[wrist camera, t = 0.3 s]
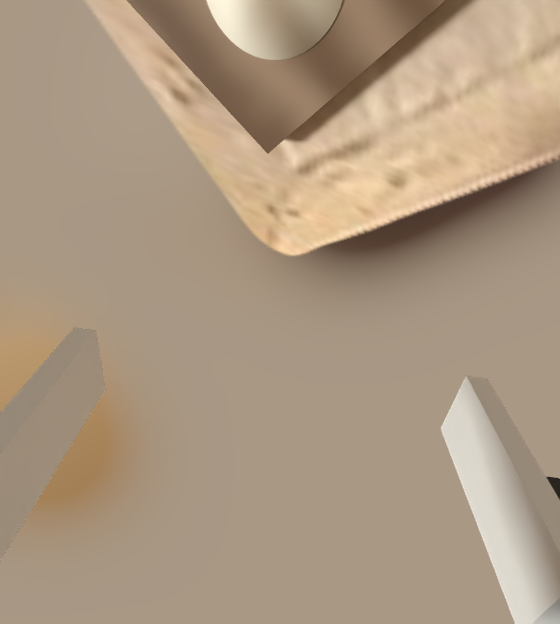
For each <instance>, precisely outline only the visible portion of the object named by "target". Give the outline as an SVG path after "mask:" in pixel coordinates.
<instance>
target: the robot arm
mask: <svg viewBox="0 0 560 624" xmlns="http://www.w3.org/2000/svg"><path fill="white" fill-rule="evenodd" d="M104 390H105V383H104V376H103V370H102V363H101V358H100V351H99V345H98V338H97V332H96V330H90V329H81V328H73V330H72V331H71V332H70V333H69V334H68V335H67V336H66V338H65V339H64V340H63V341H62V342H61V343H60V344H59V346H58V347H57V348H56V349H55V350H54V351H53V353H52V354H51V355H50V356H49V357H48V358H47V360H46V361H45V362H44V363H43V364H42V365H41V366H40V367H39V369H38V370H37V371H36V372H35V373H34V374H33V376H32V377H31V378H30V379H29V380H28V381H27V382H26V384H25V385H24V386H23V387H22V388H21V389H20V391H19V392H18V393H17V394H16V395H15V396H14V397H13V399H12V400H11V401H10V402H9V403H8V404H7V405H6V406H5V408H4V409H3V410H2V411H1V412H0V561H1V559H2V558H3V556H4V555H5V553H6V551H7V550H8V548H9V546H10V544H11V543H12V541H13V540H14V538H15V536H16V534H17V533H18V532H19V530H20V528H21V527H22V525H23V523H24V522H25V520H26V518H27V517H28V515H29V513H30V512H31V510H32V509H33V507H34V505H35V503H36V502H37V500H38V498H39V497H40V495H41V493H42V492H43V491H44V489H45V487H46V485H47V484H48V482H49V481H50V479H51V477H52V476H53V474H54V472H55V471H56V469H57V468H58V466H59V464H60V463H61V461H62V459H63V458H64V456H65V454H66V453H67V451H68V449H69V448H70V446H71V445H72V443H73V441H74V440H75V438H76V436H77V434H78V433H79V431H80V430H81V428H82V427H83V425H84V423H85V422H86V420H87V418H88V417H89V415H90V413H91V412H92V410H93V408H94V407H95V405H96V403H97V402H98V400H99V399H100V397H101V395H102V394H103V392H104ZM441 431H442V434H443V436H444V439H445V442H446V444H447V447H448V449H449V452H450V455H451V457H452V459H453V462H454V465H455V468H456V470H457V473H458V475H459V478H460V481H461V483H462V486H463V489H464V491H465V494H466V496H467V499H468V502H469V504H470V507H471V510H472V512H473V515H474V517H475V520H476V523H477V525H478V528H479V530H480V533H481V536H482V538H483V541H484V543H485V546H486V549H487V551H488V554H489V557H490V559H491V562H492V564H493V567H494V569H495V572H496V575H497V577H498V580H499V583H500V585H501V588H502V590H503V593H504V596H505V599H506V601H507V604H508V606H509V609H510V612H511V614H512V617H513V619H514V622H515V624H560V479H559V478H553V477H546V476H545V474H544V473H543V471H542V469H541V468H540V466H539V464H538V463H537V461H536V459H535V458H534V456H533V454H532V452H531V451H530V449H529V447H528V446H527V444H526V442H525V441H524V439H523V437H522V436H521V434H520V432H519V431H518V429H517V427H516V426H515V424H514V422H513V421H512V419H511V417H510V415H509V414H508V412H507V410H506V409H505V407H504V405H503V404H502V402H501V401H500V399H499V397H498V395H497V394H496V392H495V390H494V389H493V387H492V385H491V383H490V382H489V380H488V379H487V378H481V377H473V376H466V378H465V379H464V381H463V384H462V386H461V388H460V390H459V392H458V394H457V396H456V398H455V400H454V402H453V405H452V406H451V408H450V411H449V412H448V415H447V417H446V419H445V421H444V423H443V425H442V427H441Z"/></svg>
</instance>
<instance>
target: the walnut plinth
mask: <svg viewBox="0 0 560 624" xmlns="http://www.w3.org/2000/svg"><path fill="white" fill-rule="evenodd" d="M127 1H128V2H129V3H130V4H131V6H132V7H133V8H134V9H135V10H136V11H137V12H138V13H139V14H140V15H141V16H142V18H143V19H144V20H145V21H146V22H147V23H148V24H149V25H150V26H151V27H152V28H153V29H154V31H155V32H156V33H157V34H158V35H159V36H160V37H161V38H162V39H163V40H164V41H165V43H166V44H167V45H168V46H169V47H170V48H171V49H172V50H173V51H174V52H175V53H176V54H177V56H178V57H179V58H180V59H181V60H182V61H183V62H184V63H185V64H186V65H187V66H188V68H189V69H190V70H191V71H192V72H193V73H194V74H195V75H196V76H197V77H198V78H199V79H200V81H201V82H202V83H203V84H204V85H205V86H206V87H207V88H208V89H209V90H210V91H211V93H212V94H213V95H214V96H215V97H216V98H217V99H218V100H219V101H220V102H221V103H222V104H223V106H224V107H225V108H226V109H227V110H228V111H229V112H230V113H231V114H232V115H233V116H234V118H235V119H236V120H237V121H238V122H239V123H240V124H241V125H242V126H243V127H244V128H245V129H246V131H247V132H248V133H249V134H250V135H251V136H252V137H253V138H254V139H255V140H256V141H257V142H258V144H259V145H260V146H261V147H262V148H263V149H264V150H265V151H266V152H267V153H269V152H270V151H271V150H273V149H274V148H275V147H276V146H277V145H278V144H280V143H281V142H282V141H283V140H284V139H285V138H287V137H288V136H289V135H290V134H291V133H292V132H294V131H295V130H296V129H297V128H298V127H299V126H300V125H302V124H303V123H304V122H305V121H306V120H307V119H309V118H310V117H311V116H312V115H313V114H314V113H316V112H317V111H318V110H319V109H320V108H321V107H323V106H324V105H325V104H326V103H327V102H328V101H329V100H331V99H332V98H333V97H334V96H335V95H336V94H338V93H339V92H340V91H341V90H342V89H343V88H345V87H346V86H347V85H348V84H349V83H350V82H352V81H353V80H354V79H355V78H356V77H357V76H358V75H360V74H361V73H362V72H363V71H364V70H365V69H367V68H368V67H369V66H370V65H371V64H372V63H374V62H375V61H376V60H377V59H378V58H379V57H381V56H382V55H383V54H384V53H385V52H386V51H387V50H389V49H390V48H391V47H392V46H393V45H394V44H396V43H397V42H398V41H399V40H400V39H401V38H403V37H404V36H405V35H406V34H407V33H408V32H410V31H411V30H412V29H413V28H414V27H415V26H416V25H418V24H419V23H420V22H421V21H422V20H423V19H425V18H426V17H427V16H428V15H429V14H430V13H432V12H433V11H434V10H435V9H436V8H437V7H439V6H440V5H441V4H442V3H443V2H444V1H445V0H127Z"/></svg>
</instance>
